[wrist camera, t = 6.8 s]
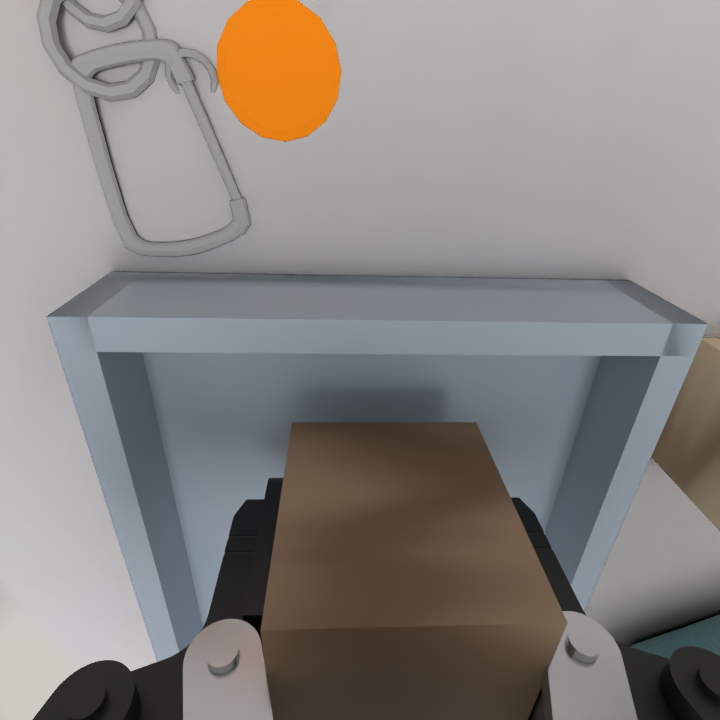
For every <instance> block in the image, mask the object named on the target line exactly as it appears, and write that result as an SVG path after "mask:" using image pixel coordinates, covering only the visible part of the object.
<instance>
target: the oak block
mask: <svg viewBox="0 0 720 720" xmlns="http://www.w3.org/2000/svg"><path fill="white" fill-rule="evenodd" d="M651 457H652V458H653V459H654V460H655V462H656V463H657V464H658V465H659V466H660V467H661V468H662V469H663V470H664V471H665V472H666V473H667V475H668V476H669V477H670V478H671V479H672V480H673V481H674V482H675V483H676V484H677V485H678V486H679V487H680V489H681V490H682V491H683V492H684V493H685V494H686V495H687V496H688V497H689V498H690V499H691V500H692V501H693V503H694V504H695V505H696V506H697V507H698V508H699V509H700V510H701V511H702V512H703V513H704V514H705V516H706V517H707V518H708V519H709V520H710V521H711V522H712V523H713V524H714V525H715V526H716V527H717V528H718V530H719V531H720V338H702V340H701V343H700V345H699V347H698V350H697V352H696V354H695V356H694V359H693V361H692V363H691V366H690V368H689V370H688V373H687V375H686V377H685V380H684V382H683V384H682V387H681V389H680V391H679V393H678V396H677V398H676V400H675V403H674V405H673V407H672V410H671V412H670V414H669V417H668V419H667V421H666V424H665V426H664V428H663V430H662V433H661V435H660V437H659V440H658V442H657V444H656V447H655V449H654V451H653V454H652V456H651Z"/></svg>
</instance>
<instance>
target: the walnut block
mask: <svg viewBox="0 0 720 720" xmlns="http://www.w3.org/2000/svg"><path fill="white" fill-rule="evenodd" d="M567 623H568V622H567V620H566V618H565V616H564V614H563V611H562V609H561V607H560V605H559V603H558V600H557V598H556V596H555V594H554V592H553V590H552V587H551V585H550V583H549V581H548V579H547V576H546V574H545V572H544V570H543V568H542V565H541V563H540V561H539V559H538V557H537V554H536V552H535V550H534V548H533V546H532V543H531V541H530V539H529V537H528V535H527V533H526V530H525V528H524V526H523V524H522V522H521V519H520V517H519V515H518V513H517V511H516V508H515V506H514V504H513V502H512V500H511V497H510V495H509V493H508V491H507V489H506V486H505V484H504V482H503V480H502V478H501V476H500V473H499V471H498V469H497V467H496V465H495V462H494V460H493V458H492V456H491V454H490V451H489V449H488V447H487V445H486V443H485V440H484V438H483V436H482V434H481V432H480V429H479V427H478V425H477V423H476V422H292V424H291V431H290V438H289V444H288V451H287V458H286V464H285V471H284V478H283V484H282V491H281V498H280V504H279V511H278V517H277V524H276V531H275V537H274V544H273V551H272V557H271V564H270V571H269V577H268V584H267V591H266V597H265V604H264V611H263V617H262V624H261V638H262V647H263V655H264V663H265V671H266V676H267V683H268V689H269V696H270V702H271V709H272V715H273V720H528V719H529V716H530V714H531V711H532V709H533V706H534V704H535V701H536V699H537V696H538V694H539V692H540V689H541V687H542V686H541V678H542V675H543V673H544V670H545V668H546V666H547V664H551V662H552V660H553V657H554V655H555V652H556V650H557V647H558V645H559V643H560V640H561V638H562V635H563V633H564V630H565V628H566V625H567Z"/></svg>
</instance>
